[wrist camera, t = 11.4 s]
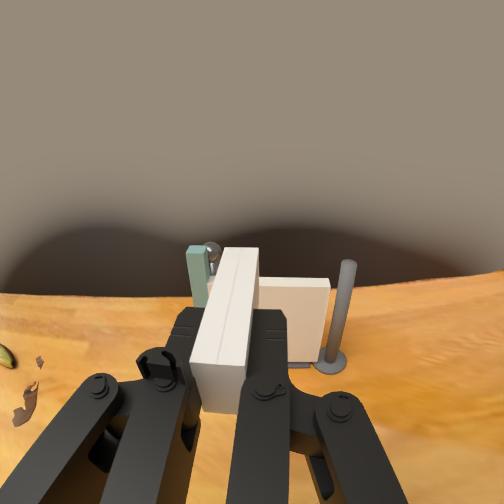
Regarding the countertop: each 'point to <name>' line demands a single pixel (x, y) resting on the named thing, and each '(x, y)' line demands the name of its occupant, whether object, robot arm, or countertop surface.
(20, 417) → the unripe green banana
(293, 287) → the gate
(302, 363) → the sill
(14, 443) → the countertop surface
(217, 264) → the post
